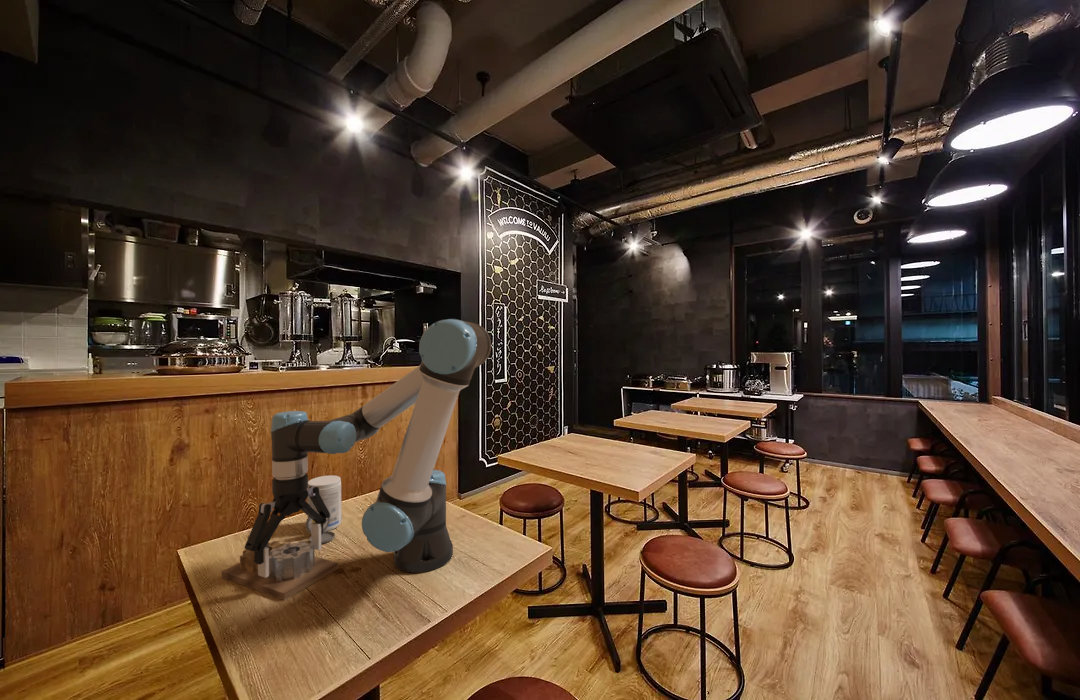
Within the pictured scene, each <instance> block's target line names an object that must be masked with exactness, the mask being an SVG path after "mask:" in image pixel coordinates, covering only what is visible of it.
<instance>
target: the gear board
mask: <svg viewBox="0 0 1080 700" xmlns="http://www.w3.org/2000/svg"><path fill="white" fill-rule="evenodd" d="M283 544H286V542H282V543H281V542H280V540H272V542H268V543H267V545H266V547H267V548H269V556H270V551H271V550H273V549H278V548H280V547H282V546H283ZM295 552H296V548H292V549H289V550H287V554H291V553H295ZM337 570H339V562H336V561H333V560H329V559H325V558H322V557H319V556H315V564H313V570H312V571H311V572H306V573H304V574H302V575H301V577H300V578H297V579H293V578H291V579H286V580H283V581H282V582H276V579H275V578H272V579H269V578H268V577H266V578H265V577H262V576H259V575H258V564H256V563H255V562H254V551H250V550H247V549H244V550H243V551H242V554H240V555H239V563H237V564H234V565H233V566H230V567H228V568H226V569H223V570H221V578H222V579H225V580H228V581H232V582H234V583H236V584H239V585H242V586H244V587H247V588H250V589H252V590H255V591H258V592H261V593H264V594H267V595H269V596H272V597H275V598H278V599H281V600H282V601H286V600H287V599H289V598H291V597H293V596H295V594H296V595H297V594H298V593H300V592H301V591H303V590H305V589H307V588H308V587H310V586H311V585H313V584H315V583H317V582H318V581H320V580H322V579H323V578H325V577H326V576H328V575H330V574H331V573H333V572H335V571H337Z"/></svg>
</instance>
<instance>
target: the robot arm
mask: <svg viewBox="0 0 1080 700" xmlns="http://www.w3.org/2000/svg"><path fill="white" fill-rule="evenodd" d="M418 347H419V348H418V352H419V356H420V358H421V363H420V364H419V365H418V366H417V367H416V368H414V369H413V370H411V371H410V372H408V373H407V374H405V375H404V376H403V377H401V378H400V379H399V380H396V381H395V382H394V383H393V384H391V385H390V386H389V387H388V388H386V389H384V390H383V391H382V392H380V393H379V394H377V395H376V396H374V398H372V399H370V400H369V401H368V402H366V403H365V404H364V405H362V406H361V407H359V408H358V409H356V410H354V412H352V413H349V414H347V415H342V416H340V417H335V418H332V419H329V420H310V419H309V418H308V414H307V412H306V411H303V410H290V411H289V410H288V411H282V412H277V413H275V414H274V415H272V417H271V426H270V427H271V430H270V436H271V437H270V438H271V455H272V456H271V471H272V472H271V473H272V474H271V475H272V477H273V479H272V480H271V484H272V485H271V486H272V487H271V490H272V491H271V492H272V496H273V499H272V501H271V502H267V503H266V502H265V503H264V502H261V503H259V505H258V511H257V513H258V514H257V516H256V518H255V521H254V523H253V526H252V528H251V531H250V533H249V535H248V538H247V540H246V543H245V545H244V550H246V549H247V550H250V551H254V562H255V563H256V564H258V575H259V576H262V577H265V578H266V577H268V576H269V548H267V547H266V545H267V543H270V542H269V541H270V540H271V538H273V537H272V536H273V535H274V533H275V531H276V530H277V528H278V527H279V525H280V524H281V522H282V521H283V520H285V518H286V517H288V516H291V515H293V514H294V513H295V514H296V513H298V512H299V513H300V511H301V512H303V513H304V514H305V515H306V516H307V517H308V516H309V517H310V518H311V519H312V520H314V521H315V523H311V533H310V534H311V536H310V537H311V543H314V550H316V551H320V550H322V544H321V535H322V534H323V524H324V523H326V521H327V520H326V518H329V517H330V513H329V511H328V509H327V507H326V505H325V504H324V502H323V500H322V498H321V496H320V494H319V488H318V487H314V486H310V487H309V488H308V481H309V475H308V471H309V461H308V460H309V456H308V455H309V454H308V453H319V454H330V455H336V454H345V453H348V452H350V451H351V449H352V448H353V447H354V445H355V443H357V442H361V441H363V440H366V439H369V438H372V437H373V436H374V435H376V434H377V433H378V431H379V430H380V429H381V428H382V427H383V426H385V425H386V424H388V423H389V422H390V421H393V419H395V418H397V417H398V416H400V415H401V414H402V413H404V412H405V411H406V410H408V409H410V408H411V407H412V406H414V407H413V409H412V412H411V416H410V419H409V422H408V425H407V427H406V431H405V434H404V437H403V440H402V444H401V446H400V450H399V453H398V455H397V458H396V462H395V463H394V464H395V465H394V467H393V470H392V473H391V475H390V476H388V477H386V478H384V479H383V480H382V482H381V486H380V488H379V491H378V494H377V496H376V500H375V501H374V502H373V503H371V504H370V505H369V506H368V508H366V510H365V511H364V513H363V516H362V519H361V529H362V533H363V536H365V537H366V541H368V543H369V544H370V545H371V546H372V547H374V548H375V549H377V550H379V551H381V552H384V553H393V564H394V566H395V568H396V569H398V570H400V571H403V572H407V573H425V572H429V571H434V570H437V569H439V568H442V567H443V566H445V565H446V564H447V562H448V561H449V560H450V559H452V558H453V556H454V555H453V554H454V545H453V541H452V540H451V538H450V534H449V531H448V529H447V481H446V474H445V473H444V472H443V471H442V470H439V469H434V468H435V466H436V463H437V460H438V457H439V454H440V451H441V448H442V445H443V442H444V439H445V437H446V433H447V430H448V428H449V426H450V425H449V424H450V421H451V418H452V416H453V412H454V410H455V407H456V403H457V400H458V398H459V395H460V392H461V391H462V390H463V389H465V388H467V387H469V385H470V383H471V380H472V378H473V374H474V371H475V369H477V368H478V367H480V366H482V364H484V363H485V362H486V361H487V359H488V358H489V356H490V354H491V351H492V341H491V337H490V335H489V333H488V331H487V330H486V329H485V328H484V327H483V326H482V325H480V324H479V323H475V322H472V321H467V320H466V321H465V320H460V319H456V318H448V319H441V320H438V321H436V322H434V323H432V324H431V325H429V327H427V328H426V330H425V331H424V332H423V333H422V336H421V338H420V341H419V346H418ZM307 488H308V489H307ZM308 496H309V497H310V499H311V501H312V502H313V504H314V506H315V508H316V509H317V511H318V513H319V514H318V513H317V512H316V511H315V510H314V509H313V508H311V507H310V505H309V504H308V503H307V497H308ZM452 555H453V556H452ZM451 557H452V558H451ZM450 561H451V560H450ZM450 561H449V562H450ZM449 562H448V563H449ZM444 564H445V565H444Z"/></svg>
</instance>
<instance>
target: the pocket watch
mask: <svg viewBox="0 0 1080 700" xmlns="http://www.w3.org/2000/svg"><path fill="white" fill-rule="evenodd" d="M313 507H314V505H313ZM314 508H315V507H314ZM316 512H317V513H318V511H316ZM318 514H319V513H318ZM326 520H327V521H326V523H324V524H323V531H324V530H325V529H326V528H327V527H328V526H329V524H330V517H329V518H326ZM311 523H315V521H314V520H312V519H311V518H310V517H308V516H307V519H306V521H305V529H306V531H307V532H308V533H310V534H311ZM335 536H336V534H335V532H333V531H325V532H323V534H322V535H321V545H322V544H326V543H328V542H331V541H333V540H334V539H335ZM308 542H309V543H311V536H310V537H309V539H308Z"/></svg>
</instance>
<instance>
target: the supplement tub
mask: <svg viewBox="0 0 1080 700" xmlns="http://www.w3.org/2000/svg"><path fill="white" fill-rule="evenodd" d="M310 486H314V487H318V488H319V494H320V496H321V498H322V500H323V502H324V504H325V505H326V507H327V509H328V511H329V513H330V524H329V526H328V527H327V528H326V529H325V530H324V531H323V532H330V531H333V530H334V529H336V528H338V527H339V526H340V525H341V524H342V520H343V519H342V517H343V516H342V515H343V514H342V512H343V510H342V509H343V508H342V480H341V476H339V475H322V476H318V477H314V478H312V479H310V480H308V488H309V487H310ZM308 488H307V489H308ZM306 502H307V503H308V504H309V505H310V507H311V508H313V509H314V510H315V511H317V509H316V508H314V507H315V506H314V507H313V505H314V504H313V502H312V501H311V499H310V497H309V496H308V497H307V499H306ZM308 517H309V516H308V515H307V518H308Z"/></svg>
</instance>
